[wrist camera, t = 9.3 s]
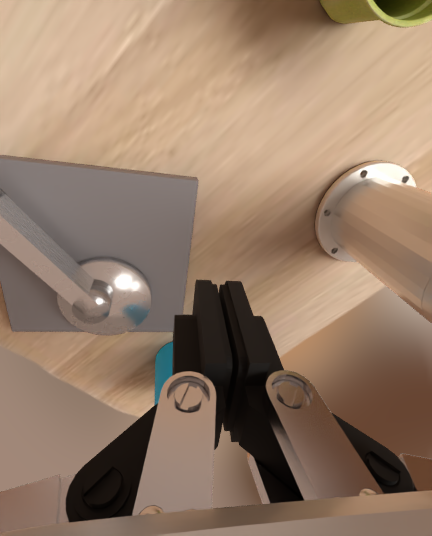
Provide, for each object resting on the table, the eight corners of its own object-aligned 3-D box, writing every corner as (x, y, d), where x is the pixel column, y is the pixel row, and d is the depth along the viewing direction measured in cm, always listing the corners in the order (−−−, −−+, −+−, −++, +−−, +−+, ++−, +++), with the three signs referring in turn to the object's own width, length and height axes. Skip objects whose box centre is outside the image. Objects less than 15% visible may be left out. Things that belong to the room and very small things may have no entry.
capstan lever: (28, 145, 26) (4, 154, 22) (167, 300, 36) (168, 325, 32) (-55, 206, 27) (-92, 225, 23) (103, 339, 38) (96, 367, 34)
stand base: (196, 177, 31) (199, 182, 29) (179, 324, 41) (180, 334, 39) (-26, 151, 27) (-39, 155, 25) (14, 323, 36) (6, 334, 34)
